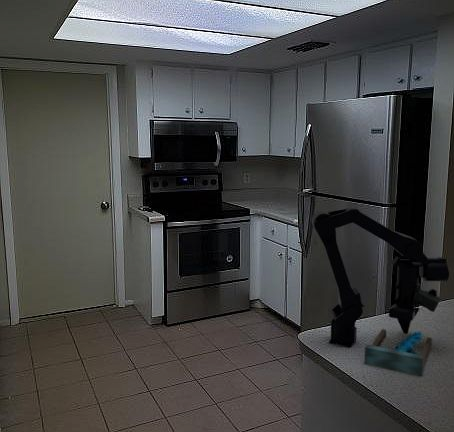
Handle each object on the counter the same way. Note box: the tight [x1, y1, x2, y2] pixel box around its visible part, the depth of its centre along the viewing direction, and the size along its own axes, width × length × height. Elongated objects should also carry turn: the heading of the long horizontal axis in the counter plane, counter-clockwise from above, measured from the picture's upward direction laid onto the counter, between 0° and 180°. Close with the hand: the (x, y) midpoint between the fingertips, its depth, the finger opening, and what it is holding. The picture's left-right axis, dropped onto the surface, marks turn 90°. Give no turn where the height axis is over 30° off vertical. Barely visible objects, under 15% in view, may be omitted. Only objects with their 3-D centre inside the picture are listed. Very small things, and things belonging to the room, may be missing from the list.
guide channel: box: [363, 328, 433, 377], centre depth 126 cm, size 14×22×4 cm, turn 150°
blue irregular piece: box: [394, 331, 423, 355], centre depth 123 cm, size 11×6×10 cm
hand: (405, 333), depth 133 cm, fingers closed
